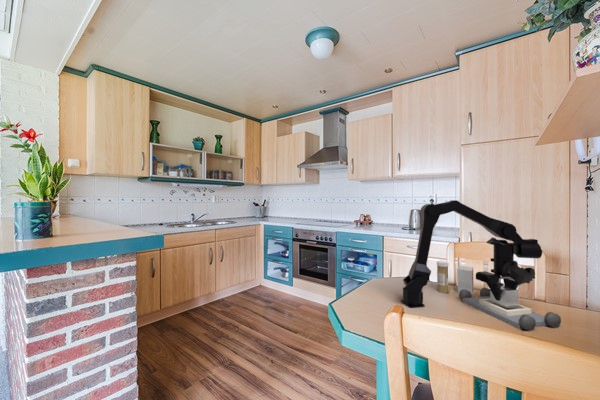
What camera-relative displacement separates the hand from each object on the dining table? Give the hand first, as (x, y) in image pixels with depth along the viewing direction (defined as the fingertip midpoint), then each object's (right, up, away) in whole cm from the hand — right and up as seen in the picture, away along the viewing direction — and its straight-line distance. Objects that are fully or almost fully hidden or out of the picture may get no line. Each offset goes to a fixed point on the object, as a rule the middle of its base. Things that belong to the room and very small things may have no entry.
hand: (503, 299), depth 92 cm
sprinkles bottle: (-10, -5, +22) cm, 24 cm away
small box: (0, -5, +21) cm, 22 cm away
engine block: (0, -2, 0) cm, 2 cm away
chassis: (0, -5, 0) cm, 5 cm away
